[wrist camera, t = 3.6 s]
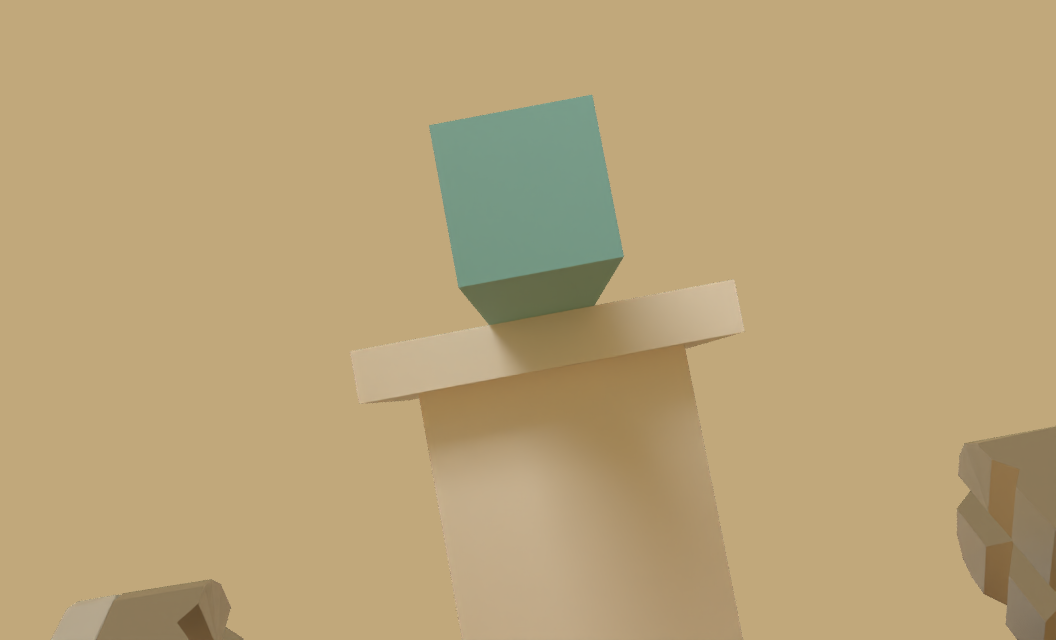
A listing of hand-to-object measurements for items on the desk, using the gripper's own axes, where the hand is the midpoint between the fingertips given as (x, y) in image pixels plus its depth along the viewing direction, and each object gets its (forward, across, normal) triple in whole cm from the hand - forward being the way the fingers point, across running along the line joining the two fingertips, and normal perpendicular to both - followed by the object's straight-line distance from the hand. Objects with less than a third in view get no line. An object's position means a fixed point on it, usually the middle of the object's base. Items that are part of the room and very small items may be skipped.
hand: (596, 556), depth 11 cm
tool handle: (+18, 0, +6) cm, 19 cm away
